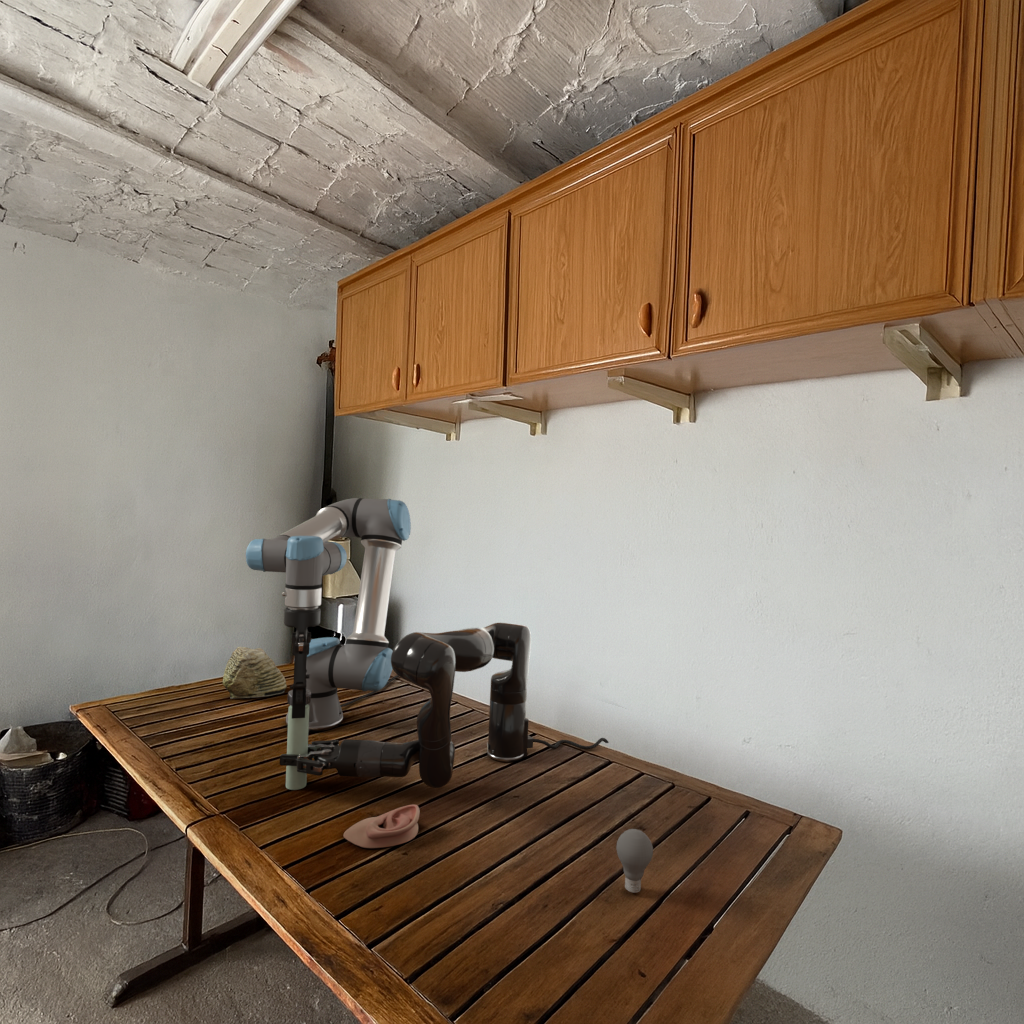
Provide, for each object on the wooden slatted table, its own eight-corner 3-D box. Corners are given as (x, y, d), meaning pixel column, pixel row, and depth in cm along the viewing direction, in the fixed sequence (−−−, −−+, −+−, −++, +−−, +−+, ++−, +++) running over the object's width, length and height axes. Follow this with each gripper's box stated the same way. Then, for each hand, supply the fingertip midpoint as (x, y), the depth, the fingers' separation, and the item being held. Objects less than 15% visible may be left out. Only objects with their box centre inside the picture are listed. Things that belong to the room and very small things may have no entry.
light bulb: (610, 879, 108) (613, 822, 108) (644, 879, 109) (647, 822, 109) (619, 902, 102) (622, 840, 102) (655, 901, 103) (658, 840, 103)
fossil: (218, 695, 195) (220, 647, 195) (278, 685, 208) (279, 640, 207) (228, 703, 189) (230, 653, 188) (289, 692, 201) (290, 645, 201)
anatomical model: (336, 822, 116) (363, 794, 127) (335, 843, 116) (362, 813, 127) (404, 832, 113) (426, 803, 124) (403, 854, 113) (425, 823, 124)
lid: (285, 706, 135) (285, 695, 135) (289, 699, 140) (290, 688, 140) (308, 706, 136) (309, 695, 136) (312, 699, 141) (312, 688, 141)
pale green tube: (289, 780, 141) (293, 693, 140) (309, 781, 141) (312, 694, 140) (282, 789, 136) (285, 699, 136) (302, 790, 136) (305, 700, 136)
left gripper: (286, 600, 145) (282, 701, 146) (282, 614, 128) (278, 729, 129) (320, 600, 147) (316, 699, 148) (321, 614, 130) (316, 726, 131)
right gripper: (370, 729, 145) (296, 726, 145) (355, 754, 131) (272, 750, 131) (369, 761, 146) (294, 758, 146) (353, 790, 131) (271, 786, 131)
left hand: (298, 713), depth 138 cm, fingers closed on lid, 5 cm apart
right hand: (284, 755), depth 138 cm, fingers closed on pale green tube, 4 cm apart
